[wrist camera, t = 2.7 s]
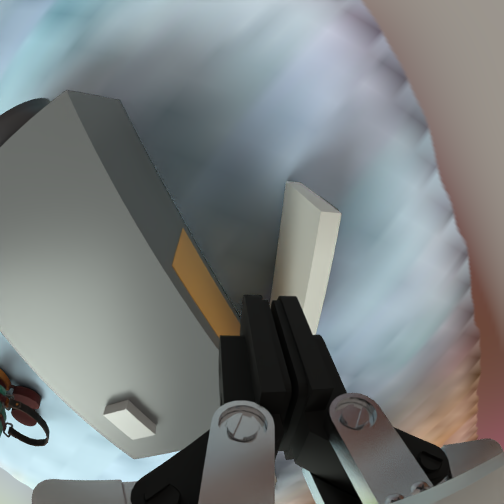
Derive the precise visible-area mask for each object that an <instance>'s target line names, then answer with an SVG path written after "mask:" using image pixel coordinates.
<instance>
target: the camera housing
mask: <svg viewBox="0 0 504 504" xmlns="http://www.w3.org/2000/svg"><path fill="white" fill-rule="evenodd" d="M240 325H241V319H240V317H239V316H238V314H237V312H236V311H235V309H234V307H233V306H232V304H231V302H230V301H229V299H228V297H227V296H226V294H225V292H224V290H223V289H222V287H221V285H220V284H219V282H218V280H217V279H216V277H215V275H214V273H213V272H212V270H211V268H210V267H209V265H208V263H207V261H206V260H205V258H204V256H203V255H202V253H201V251H200V249H199V248H198V246H197V244H196V242H195V241H194V239H193V237H192V235H191V233H190V232H189V230H188V228H187V226H186V225H185V223H184V221H183V219H182V217H181V216H180V214H179V212H178V210H177V208H176V207H175V205H174V203H173V201H172V199H171V197H170V196H169V194H168V192H167V190H166V188H165V186H164V185H163V183H162V181H161V179H160V177H159V175H158V173H157V171H156V170H155V168H154V166H153V164H152V162H151V160H150V158H149V156H148V154H147V153H146V151H145V149H144V147H143V145H142V143H141V141H140V139H139V137H138V135H137V133H136V131H135V129H134V127H133V125H132V123H131V121H130V120H129V118H128V116H127V114H126V112H125V110H124V108H123V106H122V104H121V102H120V100H117V99H112V98H107V97H102V96H97V95H92V94H87V93H81V92H75V91H69V90H66V91H64V92H63V93H62V94H61V95H59V96H58V97H57V98H55V99H54V100H53V101H52V102H51V101H50V100H49V99H46V98H39V99H33V100H30V101H27V102H24V103H22V104H19V105H17V106H15V107H13V108H12V109H10V110H8V111H6V112H5V113H3V114H2V115H0V331H1V333H2V334H3V335H4V336H5V338H6V339H7V340H8V342H9V343H10V344H11V345H12V346H13V348H14V349H15V350H16V351H17V352H18V354H19V355H20V356H21V357H22V358H23V359H24V361H25V362H26V363H27V364H28V365H29V366H30V367H31V369H32V370H33V371H34V372H35V373H36V374H37V375H38V376H39V377H40V378H41V379H42V380H43V381H44V382H45V383H46V385H47V386H48V387H49V388H50V389H51V390H52V391H53V392H54V393H55V394H56V395H57V396H58V397H59V398H61V399H62V400H63V401H64V402H65V403H66V404H67V405H68V406H69V407H70V408H71V409H72V410H73V411H74V412H75V413H77V414H78V415H79V416H80V417H81V418H82V419H83V420H84V421H86V422H87V423H88V424H89V425H90V426H91V427H93V428H94V429H95V430H96V431H97V432H99V433H100V434H101V435H102V436H104V437H105V438H106V439H107V440H109V441H110V442H111V443H113V444H114V445H115V446H116V447H118V448H119V449H120V450H122V451H123V452H124V453H126V454H127V455H129V456H130V457H131V458H133V459H139V458H145V457H150V456H156V455H161V454H166V453H171V452H176V451H180V450H183V449H184V448H185V447H187V446H188V445H189V444H191V443H192V442H194V441H195V440H196V439H198V438H199V437H200V436H202V435H203V434H204V433H205V432H207V431H208V430H209V429H210V427H211V421H212V418H213V415H214V413H215V412H216V410H217V409H218V408H219V407H220V396H219V338H220V335H230V336H240Z"/></svg>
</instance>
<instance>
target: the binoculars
mask: <svg viewBox="0 0 504 504" xmlns="http://www.w3.org/2000/svg"><path fill="white" fill-rule="evenodd" d="M10 388H13V393H12V395H10V394H7V391H6V390H10ZM7 396H11V397H12V398H10V400H9V398H8V397H7ZM14 399H15V400H14ZM40 402H41V397H40V396H39V394H37V393H36V392H35V391H33V390H31V389H29V388H26V387H22V386H14V385H11V382H10V380H9V378H8V377H7V375H6V374H5V373H4V372H3V371H2V370H1V369H0V436H1V433H2V430H3V433H4V434H5V435H6V436H7V437H10V435H12V436H13V437H15V438H17V439H19V440H20V441H22V442H24V443H27V444H29V445H33V446H45V445H46V444H47V443H48V439H49V428H48V426H47V424H46V422H45V421H44V420H43V418H42V417H41V416H40V415H39V414H38V413H37V412H36V411H35V410H34V409H38V408H39V406H40ZM11 408H12V411H11V414H12V416H13V417H14V418H15V419H16V420H17V421H19V422H20V423H22V424H24V425H27V426H34V425H36V423H38V424H39V425H40V426H41V427H42V428H43V430H44V431H45V433H46V436H47V438H46V439H40V440H36V439H31V438H29V437H27V436H24V435H23V434H21V433H19V432H18V431H16V430H15V429H13V425H12V424H11V423H5V421H6V412H5V409H7V410H10V409H11ZM7 424H9V425H11V427H9V431H8V434H9V436H8V435H7V434H6V433H5V430H6V427H7V426H6V425H7Z"/></svg>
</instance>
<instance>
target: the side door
mask: <svg viewBox="0 0 504 504" xmlns="http://www.w3.org/2000/svg"><path fill="white" fill-rule="evenodd" d="M341 214H342V213H340V212H339V210H338V209H337V208H335V207H334V206H333V205H331V204H330V203H329V202H327V201H326V200H325V199H323V198H322V197H319V196H318V195H317V194H315V193H314V192H313V191H311V190H310V189H309V188H307V187H306V186H305V185H303V184H302V183H301V182H291V181H286V184H285V192H284V200H283V208H282V216H281V224H280V232H279V240H278V247H277V255H276V262H275V270H274V277H273V284H272V292H271V299H270V309H271V303H272V300H277V299H278V297H279V296H296V297H297V298H298V301H299V303H300V305H301V308H302V310H303V313H304V315H305V317H306V320H307V322H308V324H309V327H310V329H311V332H312V334H313V335H316V331H317V327H318V323H319V319H320V315H321V311H322V306H323V302H324V298H325V293H326V289H327V284H328V280H329V275H330V270H331V266H332V261H333V256H334V251H335V246H336V241H337V236H338V230H339V225H340V219H341Z"/></svg>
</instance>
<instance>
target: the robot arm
mask: <svg viewBox="0 0 504 504" xmlns="http://www.w3.org/2000/svg"><path fill="white" fill-rule="evenodd" d="M219 396H220V407H219V408H218V409H217V410H216V412H215V413H214V415H213V418H212V421H211V427H210V429H209V430H208V431H207V432H205V433H204V434H203V435H202V436H200V437H199V438H198V439H196V440H195V441H194V442H192V443H191V444H189V445H188V446H187V447H185V448H184V449H183V450H181V451H180V452H178V453H177V454H176V455H174V456H173V457H171V458H170V459H169V460H167V461H166V462H164V463H163V464H161V465H160V466H158V467H157V468H156V469H154V470H153V471H151V472H150V473H148V474H147V475H145V476H144V477H142V478H141V479H140V480H139V481H136V482H122V481H121V480H59V479H50V480H44V481H42V482H40V483H39V484H37V486H36V487H35V489H34V490H33V494H32V504H275V485H276V482H277V480H276V475H275V458H276V455H277V453H278V451H284V454H285V458H286V460H289V459H294V461H295V464H297V465H299V466H301V467H302V472H303V476H304V478H305V480H306V482H307V485H308V487H309V489H310V491H311V494H312V496H313V498H314V500H315V502H316V504H504V452H503V449H502V448H501V446H500V444H499V443H497V442H496V441H495V440H492V439H481V440H475V441H469V442H463V443H456V444H449V445H444V446H443V447H442V448H439V447H437V446H436V445H434V444H431V443H429V442H427V441H424V440H422V439H419V438H417V437H415V436H412V435H410V434H408V433H406V432H403V431H401V430H399V429H397V428H394V427H393V426H392V424H391V423H390V421H389V420H388V418H387V417H386V415H385V414H384V413H383V411H382V410H381V408H380V407H379V406H378V404H377V403H376V402H375V401H374V400H372V399H371V398H369V397H368V396H365V395H362V394H358V393H347V392H346V390H345V388H344V385H343V383H342V381H341V379H340V376H339V374H338V372H337V369H336V367H335V365H334V363H333V360H332V358H331V356H330V353H329V351H328V349H327V347H326V344H325V342H324V340H323V338H322V337H321V336H320V335H313V334H312V332H311V329H310V327H309V324H308V322H307V320H306V317H305V315H304V313H303V310H302V308H301V305H300V303H299V301H298V298H297V297H296V296H279V297H278V299H277V300H272V303H271V309H270V305H269V302H268V300H263V299H262V296H261V295H244V297H243V305H242V315H241V325H240V336H230V335H220V338H219Z"/></svg>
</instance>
